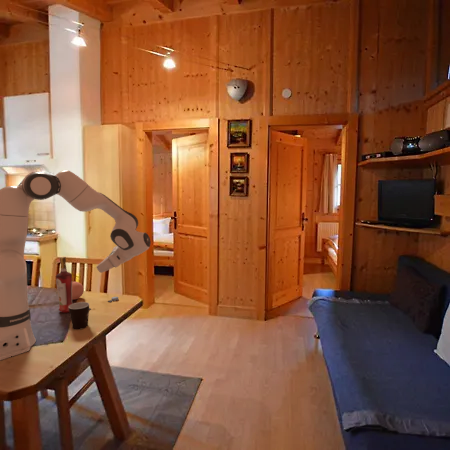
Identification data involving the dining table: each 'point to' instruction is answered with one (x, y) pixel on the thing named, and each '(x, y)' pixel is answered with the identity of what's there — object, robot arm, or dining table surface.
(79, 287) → the ball
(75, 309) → the coffee mug
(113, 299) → the grey knobs
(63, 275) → the liquor
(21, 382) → the dining table surface
